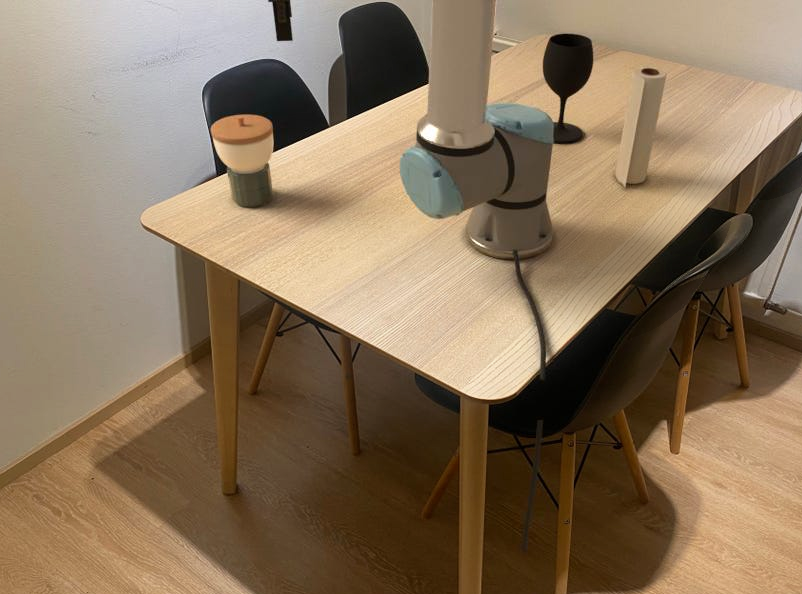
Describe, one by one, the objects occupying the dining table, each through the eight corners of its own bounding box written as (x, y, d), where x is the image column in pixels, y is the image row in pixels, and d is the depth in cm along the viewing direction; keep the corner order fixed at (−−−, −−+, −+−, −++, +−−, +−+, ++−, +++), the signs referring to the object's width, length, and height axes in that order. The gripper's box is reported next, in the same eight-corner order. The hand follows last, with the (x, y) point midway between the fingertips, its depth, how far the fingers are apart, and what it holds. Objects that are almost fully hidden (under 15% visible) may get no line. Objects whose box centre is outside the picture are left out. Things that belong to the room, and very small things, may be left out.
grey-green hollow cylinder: (273, 207, 143) (268, 175, 139) (231, 209, 142) (225, 177, 138) (273, 187, 149) (269, 156, 144) (233, 190, 147) (227, 158, 143)
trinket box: (219, 183, 136) (209, 132, 130) (216, 156, 144) (207, 108, 138) (280, 176, 138) (274, 126, 132) (274, 151, 146) (268, 103, 140)
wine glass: (528, 126, 173) (537, 34, 160) (571, 121, 175) (583, 30, 162) (546, 145, 165) (557, 50, 152) (590, 140, 168) (604, 46, 155)
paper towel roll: (631, 168, 158) (650, 63, 144) (651, 180, 154) (674, 73, 140) (604, 176, 155) (622, 69, 141) (624, 188, 151) (645, 80, 137)
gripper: (248, -121, 134) (264, 8, 148) (243, -93, 115) (262, 52, 129) (291, -121, 135) (304, 7, 149) (293, -93, 116) (307, 50, 130)
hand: (284, 28), depth 139 cm, fingers open, 13 cm apart
